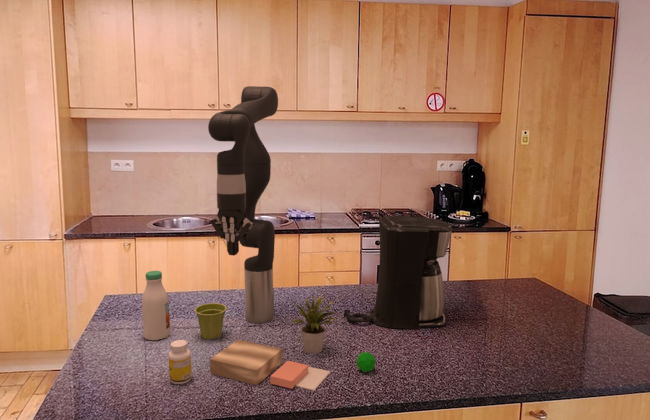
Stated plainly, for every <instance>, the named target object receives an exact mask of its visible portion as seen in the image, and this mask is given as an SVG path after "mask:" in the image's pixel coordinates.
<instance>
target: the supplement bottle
mask: <svg viewBox="0 0 650 420" xmlns="http://www.w3.org/2000/svg"><path fill="white" fill-rule="evenodd" d="M168 371H169V372H168V373H169V381H170V383H172V384H173V385H184V384H186V383H188V382H191V380H192V379H193V373H192V372H193V370H192V353H191V350H190V349H189V348H188V341H187V340H184V339H178V340H175V341H171V343H170V351H169V353H168Z"/></svg>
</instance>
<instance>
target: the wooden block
mask: <svg viewBox="0 0 650 420" xmlns="http://www.w3.org/2000/svg"><path fill="white" fill-rule="evenodd" d="M282 364H283V348H280V347H276V346H271V345H270V346H269V345H266V344H261V343H255V342H250V341H245V340H241V339H237V340H236V341H234V342H233V343H231V344H229V345H228V346H227V347H225V348H224V349H223V350H221V351H220V352H218V353H217V354H215V355H214V356H213V357H211V358H210V359H209V369H210V370H209V371H210V372H209V373H210V375H215V376H218V377H223V378H227V379H231V380H235V381H238V382H242V383H246V384H250V385H254V386H258V385H259V384H260V383H261V382H262V381H263V380H265V379H266V378H267V377H268V376H269V375H270V374H271V373H273V372H275V370H277V368H278V367H279V366H281V365H282Z"/></svg>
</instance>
